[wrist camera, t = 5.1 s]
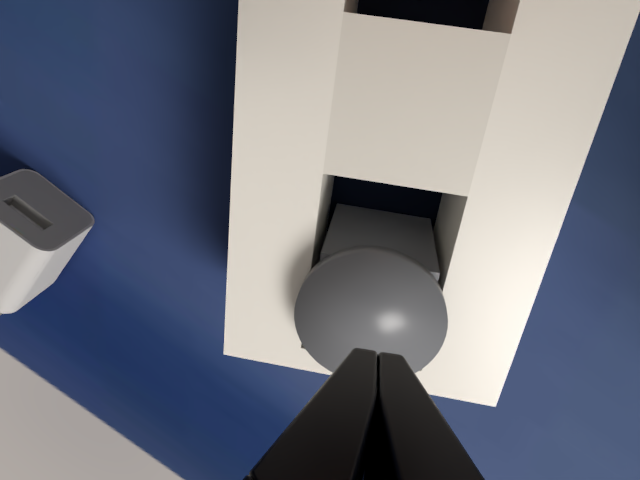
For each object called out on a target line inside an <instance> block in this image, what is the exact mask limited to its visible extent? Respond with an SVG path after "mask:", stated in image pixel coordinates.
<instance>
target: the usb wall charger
mask: <svg viewBox="0 0 640 480" xmlns="http://www.w3.org/2000/svg"><path fill="white" fill-rule="evenodd" d="M93 224H94V217H93V216H92V214H91V213H89V212H88V211H87V210H85V209H84V208H83V207H82V206H80V205H79V204H78V203H76V202H75V201H74V200H73V199H71V198H70V197H69V196H67V195H66V194H65V193H64V192H62V191H61V190H60V189H58V188H57V187H56V186H55V185H53V184H52V183H51V182H49V181H48V180H47V179H46V178H44V177H43V176H42V175H40V174H39V173H38V172H35V171H33V170H29V169H20V170H17V171H14V172H12V173H9V174H7V175H4V176H2V177H0V315H1V314H2V313H5V314H6V313H13V312H15V311H17V310H18V309H20V308H21V307H22V306H24V305H25V304H26V303H28V302H29V301H30V300H32V299H33V298H34V297H35V296H37V295H38V294H39V293H41V292H42V291H43V290H45V289H46V288H47V287H49V286H50V285H51V284H52V283H54V281H55V280H56V279H57V277H58V276H59V274H60V273H61V271H62V270H63V268H64V267H65V265H66V264H67V262H68V261H69V260H70V258H71V257H72V255H73V254H74V252H75V251H76V249H77V248H78V246H79V245H80V244H81V242H82V241H83V239H84V238H85V236H86V235H87V233H88V232H89V230H90V229H91V227H92V226H93Z"/></svg>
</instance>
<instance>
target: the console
mask: <svg viewBox="0 0 640 480" xmlns="http://www.w3.org/2000/svg"><path fill="white" fill-rule="evenodd" d="M358 2H359V0H239V5H238V29H237V52H236V76H235V99H234V123H233V146H232V170H231V194H230V217H229V241H228V264H227V288H226V311H225V335H224V355H229V356H235V357H240V358H245V359H250V360H255V361H261V362H266V363H271V364H276V365H281V366H286V367H292V368H297V369H302V370H307V371H312V372H317V373H323V374H328V375H331V374H332V372H331V371H329V370H327V369H326V368H324V367H323V366H321V365H320V364H319V363H318V362H316V361H315V360H314V359H313V358H312V357H311V356H310V354H309V353H308V352H307V351H306V349H305V348H304V346H303V344H302V343H301V341H300V339H299V336H298V334H297V331H296V327H295V321H294V308H295V303H296V299H297V296H298V293H299V291H300V288H301V285H302V283H303V281H304V279H305V277H306V276H307V274H308V273H309V272H310V270H311V269H312V268H313V267H314V266H315V265H316V264H317V263H318V262H320V256H321V251H322V248H323V245H324V242H325V239H326V234H327V227H328V219H329V212H330V205H331V198H332V190H333V183H334V176H341V177H347V178H354V179H360V180H366V181H373V182H379V183H385V184H391V185H398V186H404V187H410V188H416V189H423V190H429V191H435V192H442V197H441V201H440V206H439V210H438V214H437V218H436V222H435V226H434V230H433V236H434V242H435V248H436V253H437V259H438V265H439V271H440V275H439V279H438V284H439V285H440V288H441V290H442V292H443V295H444V299H445V303H446V308H447V316H448V329H447V334H446V338H445V340H444V343H443V345H442V347H441V349H440V351H439V352H438V354H437V355H436V356H435V358H434V359H433V360H432V361H431V362H430V363H429V364H428V365H427V366H425V367H424V368H423V369H421V370H420V371H418V372H416V373H415V374H416V376H417V377H418V379H419V380H420V382H421V383H422V385H423V387H424V388H425V390H426V391H427V393H428V394H431V395H437V396H442V397H447V398H452V399H457V400H462V401H468V402H473V403H478V404H483V405H488V406H494V407H496V404H497V402H498V399H499V396H500V393H501V391H502V388H503V385H504V382H505V380H506V377H507V374H508V371H509V369H510V366H511V363H512V360H513V358H514V355H515V352H516V349H517V347H518V344H519V341H520V338H521V336H522V333H523V330H524V327H525V325H526V322H527V319H528V316H529V314H530V311H531V308H532V305H533V303H534V300H535V297H536V294H537V292H538V289H539V286H540V283H541V281H542V278H543V275H544V272H545V270H546V267H547V264H548V262H549V259H550V256H551V253H552V251H553V248H554V245H555V242H556V240H557V237H558V234H559V231H560V229H561V226H562V223H563V220H564V218H565V215H566V212H567V209H568V207H569V204H570V201H571V198H572V196H573V193H574V190H575V187H576V185H577V182H578V179H579V176H580V174H581V171H582V168H583V165H584V163H585V160H586V157H587V154H588V152H589V149H590V146H591V143H592V141H593V138H594V135H595V132H596V130H597V127H598V124H599V122H600V119H601V116H602V113H603V111H604V108H605V105H606V102H607V100H608V97H609V94H610V91H611V89H612V86H613V83H614V80H615V78H616V75H617V72H618V69H619V67H620V64H621V61H622V58H623V56H624V53H625V50H626V47H627V45H628V42H629V39H630V36H631V34H632V31H633V28H634V25H635V23H636V20H637V17H638V14H639V12H640V0H489V3H488V7H487V11H486V15H485V19H484V23H483V28H482V30H477V29H469V28H462V27H454V26H446V25H439V24H431V23H424V22H416V21H408V20H401V19H393V18H386V17H378V16H371V15H363V14H357V9H358Z"/></svg>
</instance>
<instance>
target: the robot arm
mask: <svg viewBox="0 0 640 480" xmlns="http://www.w3.org/2000/svg"><path fill="white" fill-rule="evenodd" d="M243 480H485V479H484V478H483V476H482V475H481V473H480V472H479V470H478V469H477V467H476V466H475V464H474V463H473V461H472V460H471V458H470V457H469V455H468V454H467V452H466V450H465V449H464V447H463V446H462V444H461V443H460V441H459V440H458V438H457V437H456V435H455V434H454V432H453V431H452V429H451V428H450V426H449V425H448V423H447V422H446V420H445V418H444V417H443V415H442V414H441V412H440V411H439V409H438V408H437V406H436V405H435V403H434V402H433V400H432V399H431V397H430V396H429V394H428V393H427V391H426V390H425V388H424V387H423V385H422V383H421V382H420V380H419V379H418V377H417V376H416V374H415V373H414V371H413V370H412V368H411V367H410V365H409V364H408V362H407V361H406V359H405V358H404V357H403V356H402V355H399V354H393V353H386V352H380V353H379V354H377V352H376V351H374V350H368V349H361V348H354V349H353V350H352V351H351V352H350V353H349V354H348V355H347V357H346V358H345V359H344V360H343V361H342V363H341V364H340V365H339V366H338V367H337V368H336V370H335V371H334V372H333V373H332V374H331V376H330V377H329V378H328V379H327V380H326V382H325V383H324V384H323V385H322V386H321V388H320V389H319V390H318V391H317V392H316V393H315V395H314V396H313V397H312V398H311V399H310V401H309V402H308V403H307V404H306V405H305V407H304V408H303V409H302V410H301V411H300V413H299V414H298V415H297V416H296V417H295V418H294V420H293V421H292V422H291V423H290V424H289V426H288V427H287V428H286V429H285V430H284V432H283V433H282V434H281V435H280V436H279V438H278V439H277V440H276V441H275V442H274V443H273V445H272V446H271V447H270V448H269V449H268V451H267V452H266V453H265V454H264V455H263V457H262V458H261V459H260V460H259V461H258V463H257V464H256V465H255V466H254V467H253V468H252V470H251V471H250V473H249V475H247V476H245V478H244V479H243Z"/></svg>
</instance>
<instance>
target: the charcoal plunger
mask: <svg viewBox="0 0 640 480" xmlns="http://www.w3.org/2000/svg"><path fill="white" fill-rule="evenodd" d="M439 275H440V271H439V265H438V259H437V253H436V248H435V242H434V236H433V230H432V225H431V219H430V218H424V217H417V216H411V215H405V214H399V213H393V212H387V211H381V210H375V209H369V208H363V207H357V206H350V205H344V204H338V203H337V205H336V208H335V211H334V214H333V217H332V220H331V223H330V226H329V229H328V233H327V236H326V239H325V242H324V245H323V248H322V251H321V256H320V262H318V263H317V264H316V265H315V266H314V267H313V268H312V269H311V270H310V272H309V273H308V274H307V276H306V277H305V279H304V281H303V283H302V285H301V288H300V291H299V293H298V296H297V299H296V303H295V308H294V321H295V327H296V331H297V334H298V336H299V339H300V341H301V343H302V344H303V346H304V348H305V349H306V351H307V352H308V353H309V354H310V356H311V357H312V358H313V359H314V360H315V361H316V362H318V363H319V364H320V365H321V366H323V367H324V368H326V369H327V370H329V371H331V372H332V373H333V372H334V371H335V370H336V368H337V367H338V366H339V365H340V364H341V363H342V361H343V360H344V359H345V358H346V357H347V355H348V354H349V353H350V352H351V351H352V350H353V349H354V348H361V349H368V350H374V351H376V352H377V354H379V353H380V352H386V353H393V354H399V355H402V356H403V357H404V358H405V359H406V361H407V362H408V364H409V365H410V367H411V368H412V370H413V371H414V373H416V372H418V371H420V370H421V369H423V368H424V367H425V366H427V365H428V364H429V363H430V362H431V361H432V360H433V359H434V358H435V356H436V355H437V354H438V352H439V351H440V349H441V347H442V345H443V343H444V340H445V338H446V334H447V329H448V316H447V308H446V303H445V299H444V295H443V292H442V290H441V288H440V285H439V284H438V279H439Z"/></svg>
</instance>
